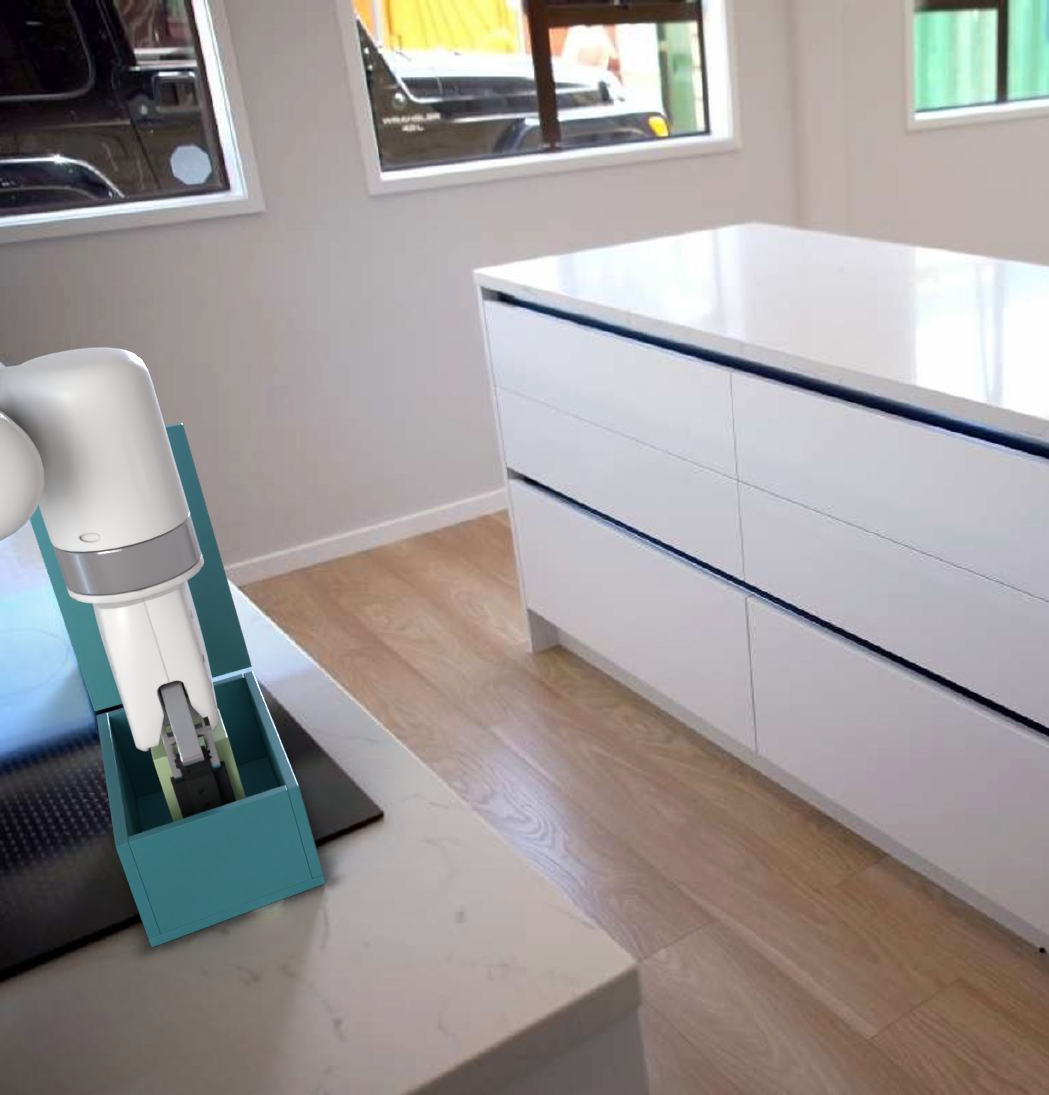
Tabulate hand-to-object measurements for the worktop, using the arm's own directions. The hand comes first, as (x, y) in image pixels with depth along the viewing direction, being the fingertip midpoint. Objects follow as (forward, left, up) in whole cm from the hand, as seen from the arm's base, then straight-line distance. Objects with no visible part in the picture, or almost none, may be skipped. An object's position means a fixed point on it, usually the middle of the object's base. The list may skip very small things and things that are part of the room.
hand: (207, 799), depth 83 cm
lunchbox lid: (+5, +10, +13) cm, 17 cm away
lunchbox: (+1, +1, -4) cm, 5 cm away
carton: (0, 0, -4) cm, 4 cm away
